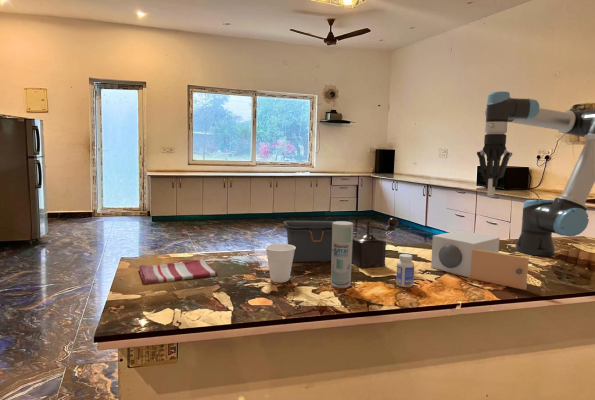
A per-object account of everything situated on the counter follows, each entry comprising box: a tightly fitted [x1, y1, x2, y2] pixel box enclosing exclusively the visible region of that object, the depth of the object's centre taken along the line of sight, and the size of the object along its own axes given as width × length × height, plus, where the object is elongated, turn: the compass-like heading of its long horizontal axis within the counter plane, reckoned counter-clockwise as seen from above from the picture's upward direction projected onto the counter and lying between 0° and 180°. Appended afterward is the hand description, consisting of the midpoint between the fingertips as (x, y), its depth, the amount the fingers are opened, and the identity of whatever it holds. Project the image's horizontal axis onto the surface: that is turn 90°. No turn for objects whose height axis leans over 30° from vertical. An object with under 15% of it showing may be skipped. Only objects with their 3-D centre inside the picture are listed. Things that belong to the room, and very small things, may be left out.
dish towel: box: [139, 259, 219, 285], centre depth 144 cm, size 17×23×3 cm
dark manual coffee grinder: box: [351, 217, 400, 269], centre depth 160 cm, size 16×11×18 cm
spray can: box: [330, 220, 354, 289], centre depth 134 cm, size 6×6×20 cm
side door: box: [470, 249, 530, 290], centre depth 138 cm, size 17×2×10 cm, turn 49°
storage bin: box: [283, 220, 334, 263], centre depth 164 cm, size 21×16×14 cm
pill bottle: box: [395, 253, 415, 288], centre depth 136 cm, size 5×5×10 cm
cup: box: [264, 243, 296, 284], centre depth 138 cm, size 10×10×11 cm
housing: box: [430, 230, 500, 279], centre depth 156 cm, size 20×16×12 cm
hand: (490, 195), depth 164 cm, fingers closed
